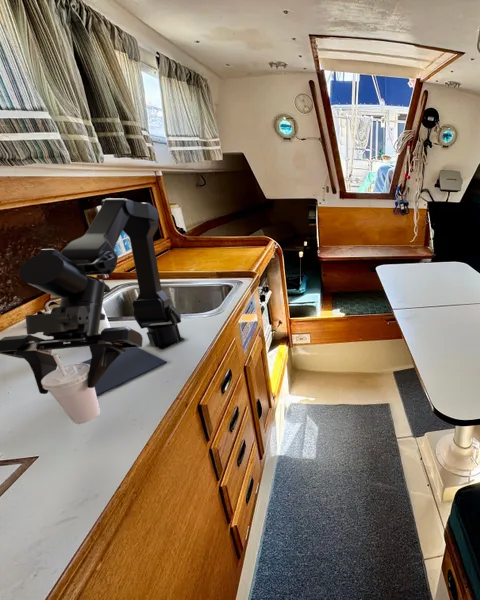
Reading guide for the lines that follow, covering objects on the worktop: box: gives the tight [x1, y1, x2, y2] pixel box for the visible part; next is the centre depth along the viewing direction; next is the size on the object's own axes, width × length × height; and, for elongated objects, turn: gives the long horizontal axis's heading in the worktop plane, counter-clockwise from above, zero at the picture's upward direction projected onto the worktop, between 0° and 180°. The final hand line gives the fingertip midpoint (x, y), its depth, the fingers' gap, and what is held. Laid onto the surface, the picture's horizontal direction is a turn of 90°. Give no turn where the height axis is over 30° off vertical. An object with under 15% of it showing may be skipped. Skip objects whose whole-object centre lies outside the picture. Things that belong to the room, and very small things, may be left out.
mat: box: [78, 347, 168, 397], centre depth 81 cm, size 18×18×1 cm
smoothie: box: [41, 353, 101, 425], centre depth 57 cm, size 6×6×14 cm
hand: (67, 390), depth 56 cm, fingers closed on smoothie, 6 cm apart
